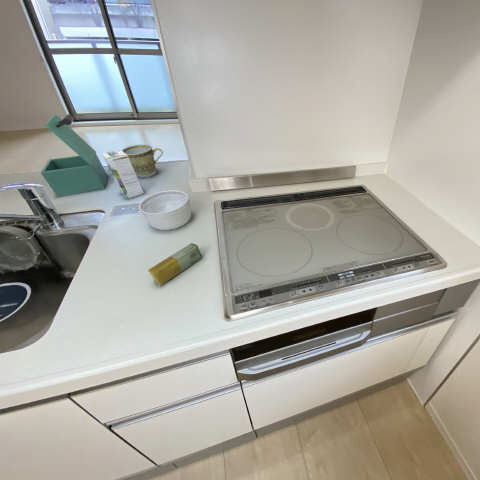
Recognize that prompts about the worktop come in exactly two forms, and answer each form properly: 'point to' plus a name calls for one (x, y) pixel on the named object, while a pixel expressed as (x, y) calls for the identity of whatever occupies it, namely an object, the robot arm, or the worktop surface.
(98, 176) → the teal box
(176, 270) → the medication box
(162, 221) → the ramekin
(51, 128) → the teal box lid
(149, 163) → the ceramic cup
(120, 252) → the worktop surface
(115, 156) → the syrup box
